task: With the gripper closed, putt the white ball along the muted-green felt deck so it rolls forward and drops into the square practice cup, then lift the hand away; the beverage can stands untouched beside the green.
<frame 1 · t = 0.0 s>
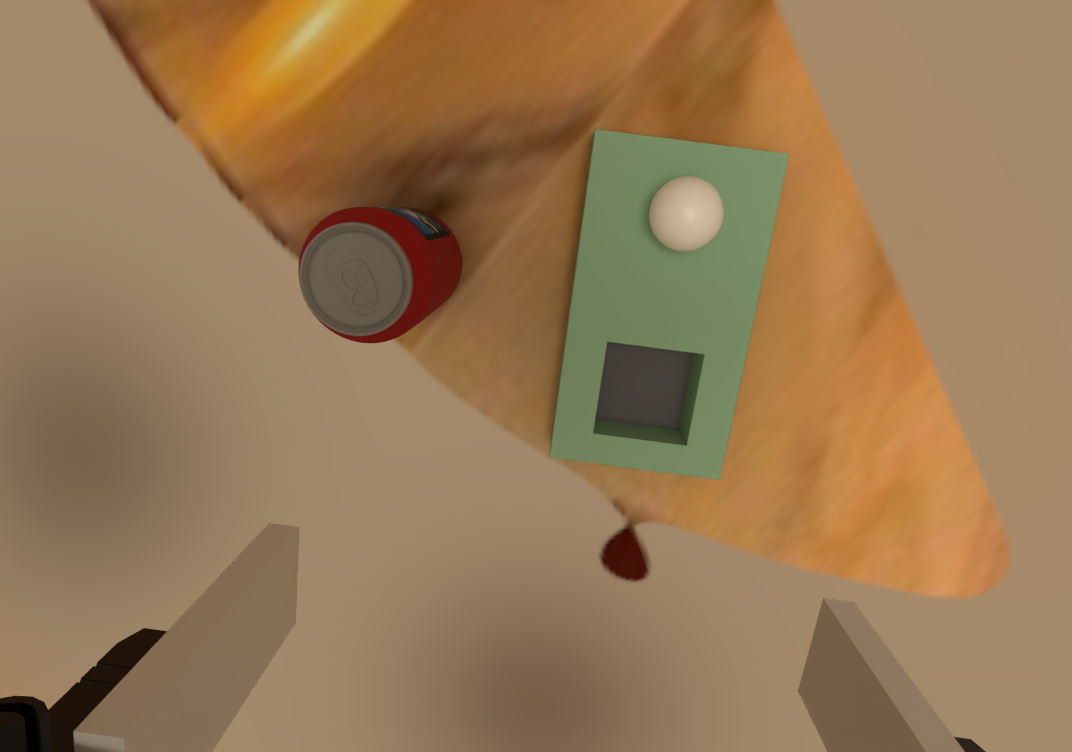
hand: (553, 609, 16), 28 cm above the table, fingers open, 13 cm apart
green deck: (654, 307, 42), on the table
beverage can: (413, 260, 42), on the table
ball: (685, 214, 36), point 5 cm above the table, touching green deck
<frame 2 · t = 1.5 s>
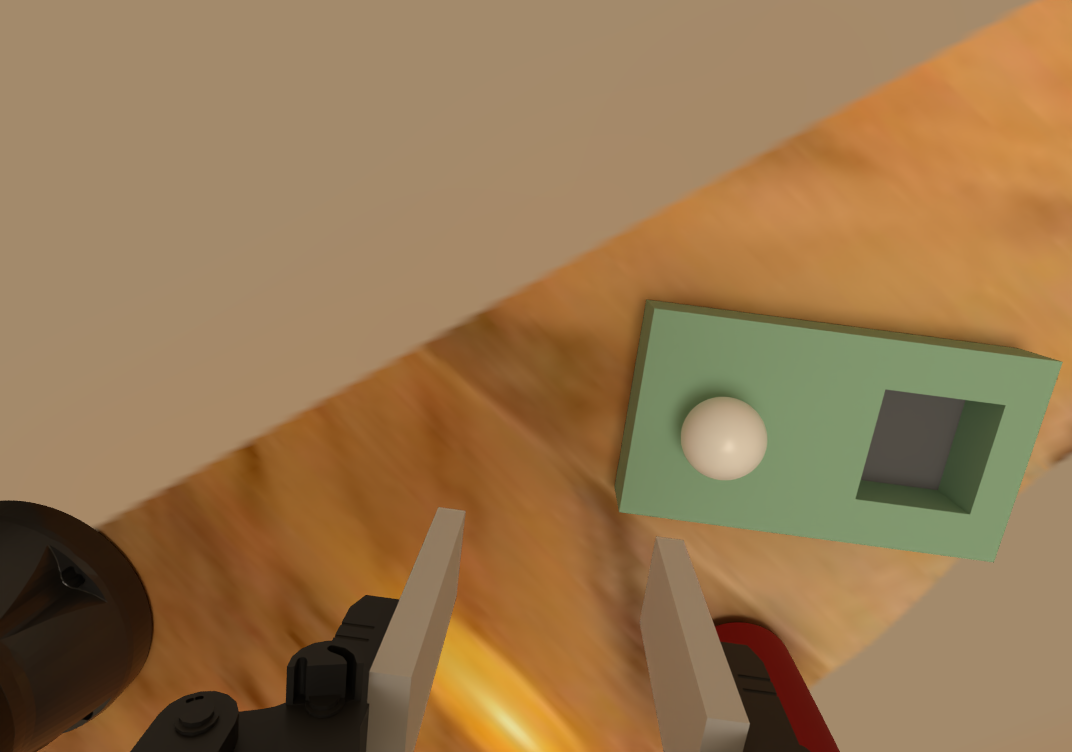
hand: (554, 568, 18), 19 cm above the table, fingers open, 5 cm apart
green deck: (807, 420, 36), on the table
beverage can: (731, 658, 40), on the table
ball: (723, 438, 31), point 5 cm above the table, touching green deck
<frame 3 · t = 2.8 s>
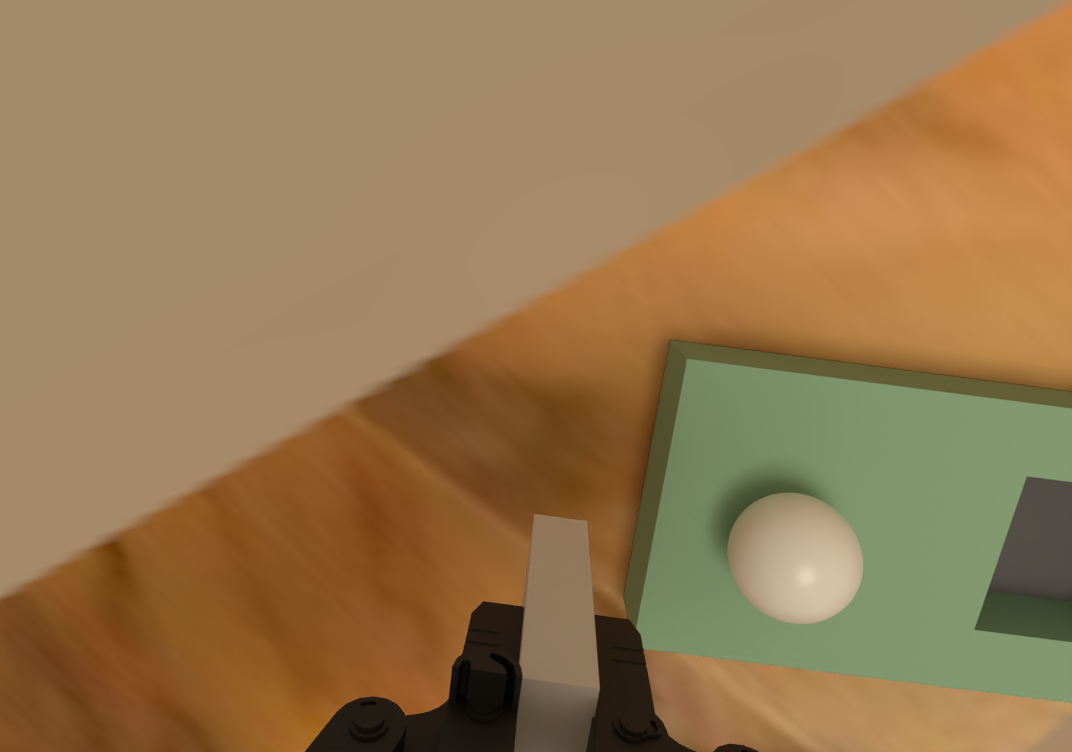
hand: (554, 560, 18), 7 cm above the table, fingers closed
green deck: (895, 507, 26), on the table
ball: (792, 556, 21), point 5 cm above the table, touching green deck
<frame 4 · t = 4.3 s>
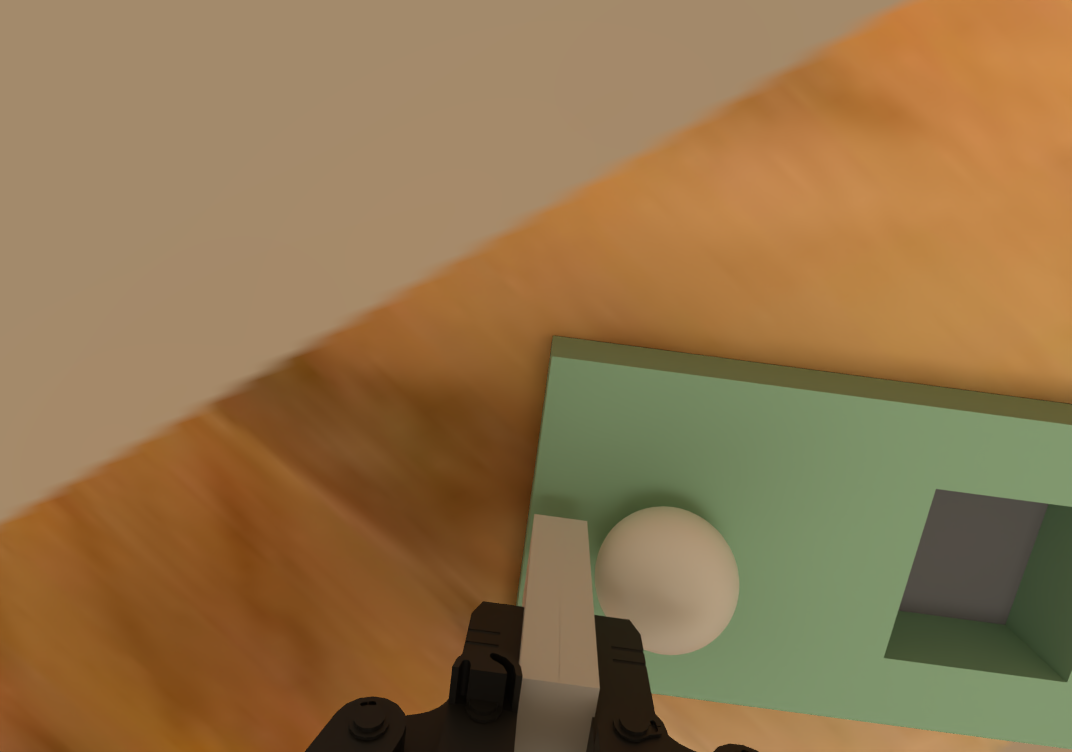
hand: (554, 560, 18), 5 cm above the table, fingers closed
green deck: (807, 520, 23), on the table
ball: (665, 578, 18), point 5 cm above the table, touching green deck
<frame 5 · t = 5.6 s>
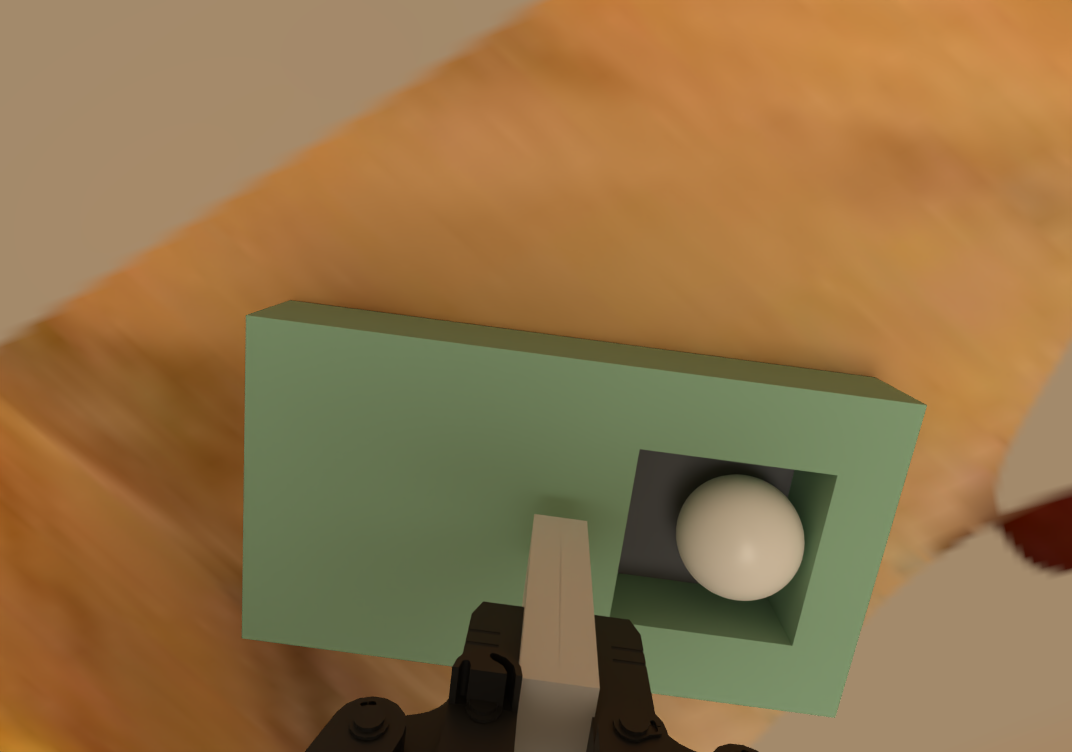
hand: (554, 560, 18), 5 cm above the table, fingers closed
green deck: (560, 487, 23), on the table
ball: (738, 536, 21), point 2 cm above the table, touching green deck
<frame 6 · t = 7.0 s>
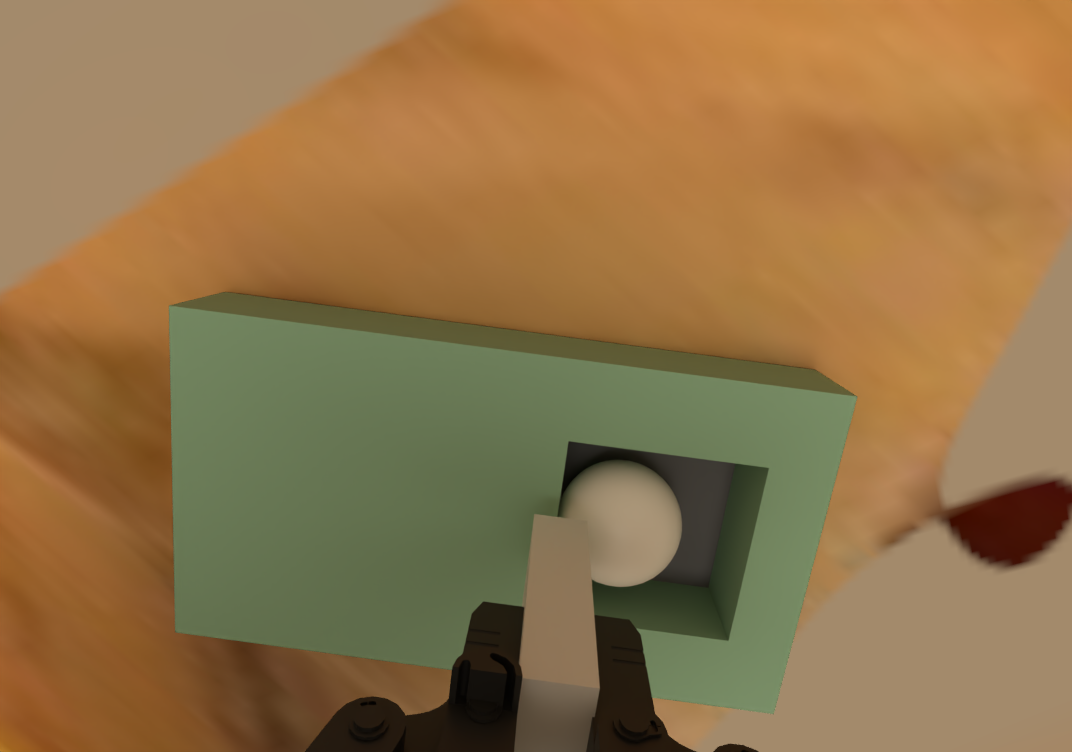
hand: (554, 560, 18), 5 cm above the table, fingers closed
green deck: (500, 481, 23), on the table
ball: (618, 521, 21), point 2 cm above the table, tilted 51°, touching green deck
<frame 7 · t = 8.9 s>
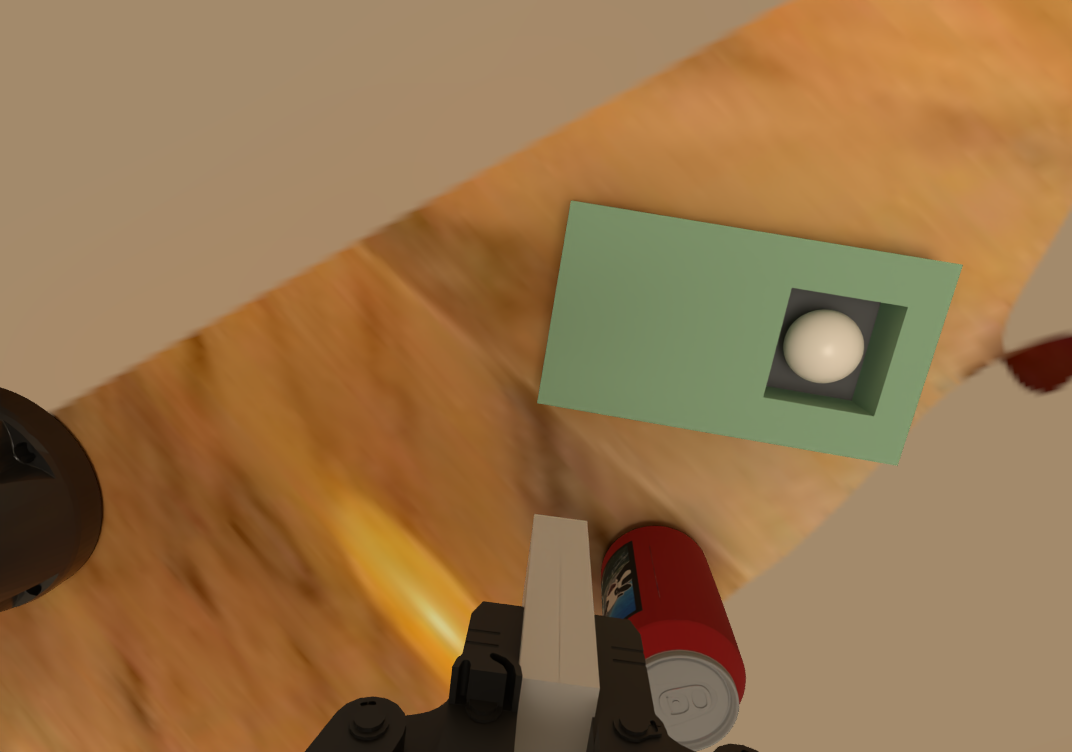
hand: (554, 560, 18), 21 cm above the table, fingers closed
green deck: (726, 326, 37), on the table
beverage can: (652, 565, 42), on the table
ball: (822, 346, 35), point 2 cm above the table, tilted 31°, touching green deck
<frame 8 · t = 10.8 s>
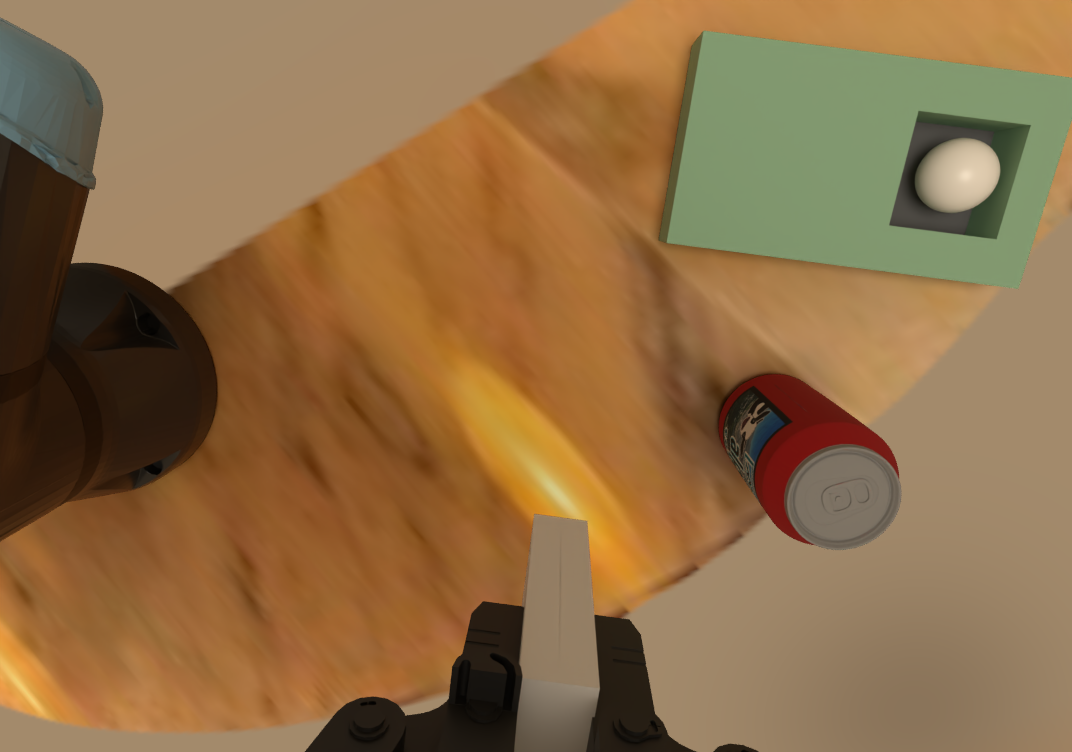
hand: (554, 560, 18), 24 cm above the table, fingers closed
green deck: (842, 168, 38), on the table
beverage can: (766, 419, 43), on the table
ball: (956, 176, 36), point 2 cm above the table, tilted 11°, touching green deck
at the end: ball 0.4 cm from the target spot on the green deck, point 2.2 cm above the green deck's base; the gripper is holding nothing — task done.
